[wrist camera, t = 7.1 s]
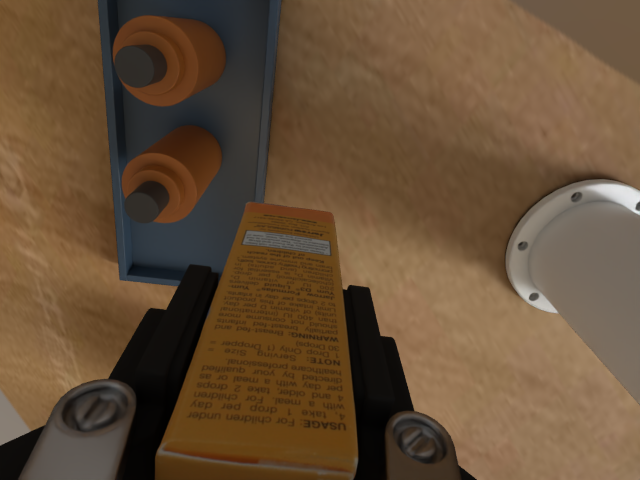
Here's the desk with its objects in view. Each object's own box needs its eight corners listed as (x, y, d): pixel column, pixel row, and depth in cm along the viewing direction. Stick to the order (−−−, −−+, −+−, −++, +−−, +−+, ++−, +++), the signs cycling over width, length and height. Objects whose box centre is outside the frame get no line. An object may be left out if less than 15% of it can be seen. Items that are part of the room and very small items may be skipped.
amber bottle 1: (227, 24, 28) (182, 21, 19) (224, 92, 30) (183, 122, 21) (160, 14, 28) (79, 5, 18) (162, 83, 30) (89, 109, 20)
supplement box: (237, 194, 15) (145, 451, 6) (334, 209, 15) (387, 468, 6) (229, 276, 16) (146, 580, 7) (318, 287, 17) (342, 587, 8)
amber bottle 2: (223, 129, 32) (183, 173, 22) (221, 185, 33) (183, 249, 24) (163, 121, 31) (94, 162, 21) (164, 178, 33) (101, 240, 23)
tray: (282, -16, 28) (280, -20, 26) (256, 281, 38) (254, 294, 36) (108, -45, 27) (93, -50, 25) (129, 267, 37) (119, 280, 35)
